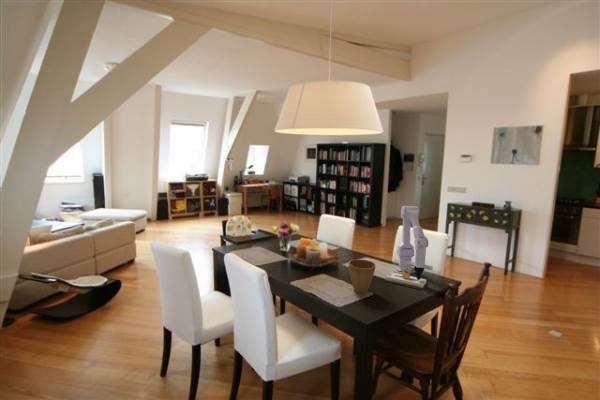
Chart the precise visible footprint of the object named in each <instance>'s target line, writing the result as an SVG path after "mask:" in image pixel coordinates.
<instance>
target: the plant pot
mask: <svg viewBox="0 0 600 400" xmlns="http://www.w3.org/2000/svg"><path fill="white" fill-rule="evenodd" d="M348 269H349V275H350V282H351V285H352V288H353V291H354V292H356V293H359V294H366V293H367V292H368V290H369V288H370V285H372V280H373V277H374V274H375V270H376V263H375V262H373V261H370V260H367V259H351V260H349V262H348Z"/></svg>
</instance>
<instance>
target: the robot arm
mask: <svg viewBox="0 0 600 400" xmlns="http://www.w3.org/2000/svg"><path fill="white" fill-rule="evenodd" d="M419 214H420V209H419V207H418V206H417V205H415V206H414V205H411V206H410V205H406V206H405V205H402V206H401V208H400V218H401V219H402V242H401V243H399V244H398V245H397V250H396V253H397V256H398V258H399V259H398V260H399V263H398V267H397V269H396V272H401V271H402V272H403V271H404V270H409V272H410V273H411V271H412V270H414V272H415V275H416V277H417V280H420V278H422V274H423V272H424V270H429V271H433V270H434V266H431V265H429V264H426V255H427V253H426V252H427V248H428V247H429V239H428V238H427V236H426V235H425V234H424V230H423V227H422V226H420V222H419ZM411 226H412V227H413V228H412V233H413V238H414V245H413V244H411ZM413 257H414V262H413ZM412 267H413V268H412Z"/></svg>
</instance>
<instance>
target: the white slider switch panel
mask: <svg viewBox="0 0 600 400" xmlns="http://www.w3.org/2000/svg"><path fill="white" fill-rule="evenodd" d="M394 272H395V271H390V272H389V273H388V274H386V275H385V279H388V280H393V281H397V282H401V283H405V284H410V285H414V286H418V287H421V289H423V288H424V286H425V285H426V284H427V281H426V280H425V279H426V278H425V279H421V278H422V277H421V278H420V280H417V278H416V277H417V276H416V277H412V276H413V275H411V276H410V278H409V279H406V278H402V274H398V273H399V272H398V273H394Z"/></svg>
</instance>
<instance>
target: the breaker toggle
mask: <svg viewBox="0 0 600 400" xmlns="http://www.w3.org/2000/svg"><path fill="white" fill-rule="evenodd" d="M410 275H411V271H410V272H409V270H404V271H403V272H402V278H406V279H409V278H410Z"/></svg>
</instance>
